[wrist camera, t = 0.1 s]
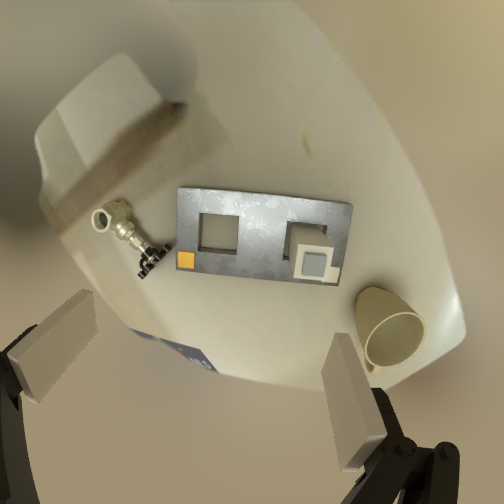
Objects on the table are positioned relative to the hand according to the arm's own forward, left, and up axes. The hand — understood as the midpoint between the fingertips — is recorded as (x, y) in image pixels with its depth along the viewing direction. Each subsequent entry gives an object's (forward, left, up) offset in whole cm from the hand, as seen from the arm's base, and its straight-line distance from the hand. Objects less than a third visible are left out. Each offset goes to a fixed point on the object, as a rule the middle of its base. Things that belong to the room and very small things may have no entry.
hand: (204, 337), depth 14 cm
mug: (+12, +22, -28) cm, 37 cm away
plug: (+2, +9, -28) cm, 29 cm away
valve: (+3, -17, -28) cm, 33 cm away
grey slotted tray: (+2, +3, -28) cm, 28 cm away
